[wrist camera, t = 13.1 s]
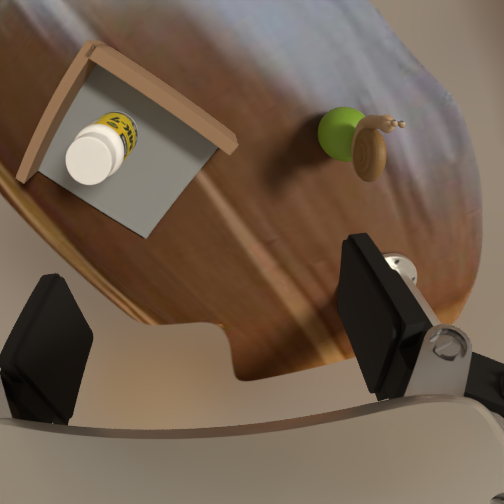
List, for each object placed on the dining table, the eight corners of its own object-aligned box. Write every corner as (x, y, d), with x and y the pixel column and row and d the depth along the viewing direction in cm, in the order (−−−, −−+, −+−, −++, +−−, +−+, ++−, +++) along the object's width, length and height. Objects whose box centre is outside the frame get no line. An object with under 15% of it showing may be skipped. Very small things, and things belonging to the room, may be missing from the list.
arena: (235, 134, 31) (238, 145, 27) (150, 238, 36) (145, 259, 33) (100, 41, 23) (86, 40, 20) (32, 163, 29) (15, 178, 25)
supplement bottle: (147, 140, 29) (128, 171, 22) (110, 164, 30) (83, 201, 23) (123, 101, 26) (94, 119, 20) (85, 126, 27) (50, 154, 20)
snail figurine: (362, 96, 29) (429, 125, 20) (355, 152, 33) (412, 202, 23) (313, 91, 29) (366, 116, 19) (308, 150, 33) (353, 201, 23)
